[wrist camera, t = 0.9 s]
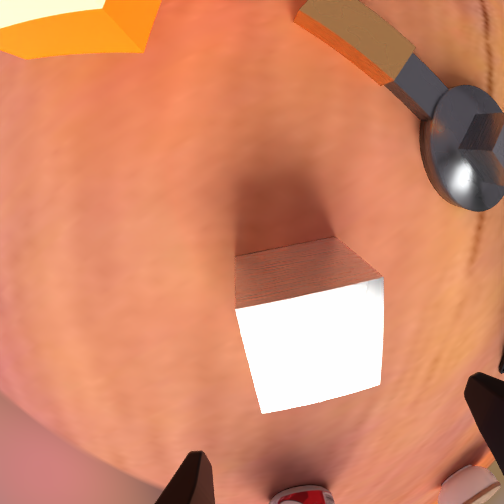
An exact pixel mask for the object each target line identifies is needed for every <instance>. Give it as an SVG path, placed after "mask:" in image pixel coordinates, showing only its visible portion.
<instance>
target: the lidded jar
mask: <svg viewBox="0 0 504 504" xmlns="http://www.w3.org/2000/svg"><path fill="white" fill-rule="evenodd" d="M500 487H501V484H500V483H499V482H498V481H497V479H496V478H495V477H494V475H493V474H492V473H491V472H490V471H489V470H488V469H486V468H484V467H481V466H472V465H467V466H465V467H463V468H462V469H460V470H458V471H457V472H455V473H454V474H453V475H451V476H450V477H449V478H448V479H446V480H445V481H444V482H443V484H442V488H441V490H440V493H439V496H438V504H483V503H484V502H485V501H487V500H488V499H489V498H491V497H492V496H493V495H494V494H495V493H496V492H497V491H498V490H499V488H500Z"/></svg>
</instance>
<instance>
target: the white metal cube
mask: <svg viewBox="0 0 504 504" xmlns="http://www.w3.org/2000/svg"><path fill="white" fill-rule="evenodd" d="M235 310H236V314H237V318H238V322H239V326H240V330H241V334H242V338H243V342H244V346H245V350H246V354H247V358H248V362H249V366H250V369H251V373H252V377H253V381H254V385H255V388H256V392H257V396H258V400H259V403H260V407H261V411H262V413H268V412H273V411H279V410H284V409H289V408H294V407H298V406H303V405H307V404H312V403H316V402H320V401H324V400H328V399H332V398H336V397H339V396H343V395H347V394H350V393H354V392H357V391H360V390H364V389H367V388H370V387H373V386H376V385H379V384H380V376H381V363H382V346H383V319H384V277H383V276H382V275H381V274H379V273H378V272H377V271H376V270H375V269H374V268H373V267H371V266H370V265H369V264H368V263H367V262H365V261H364V260H363V259H362V258H361V257H360V256H358V255H357V254H356V253H355V252H354V251H352V250H351V249H350V248H349V247H348V246H346V245H345V244H344V243H343V242H341V241H340V240H339V239H338V238H337V237H331V238H326V239H321V240H316V241H311V242H306V243H301V244H296V245H291V246H286V247H281V248H276V249H271V250H266V251H261V252H256V253H251V254H246V255H241V256H236V257H235Z"/></svg>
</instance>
